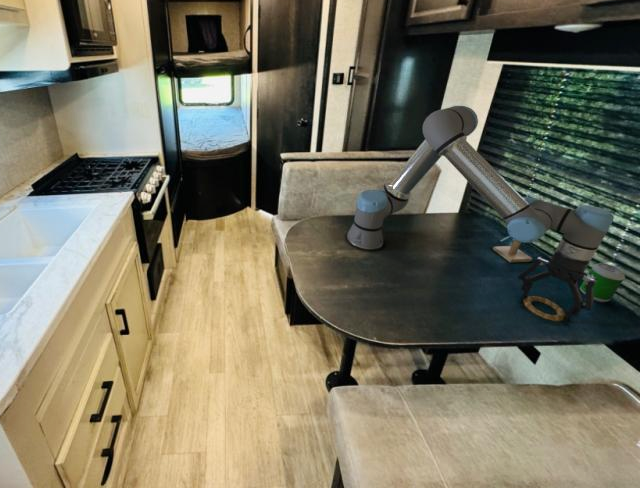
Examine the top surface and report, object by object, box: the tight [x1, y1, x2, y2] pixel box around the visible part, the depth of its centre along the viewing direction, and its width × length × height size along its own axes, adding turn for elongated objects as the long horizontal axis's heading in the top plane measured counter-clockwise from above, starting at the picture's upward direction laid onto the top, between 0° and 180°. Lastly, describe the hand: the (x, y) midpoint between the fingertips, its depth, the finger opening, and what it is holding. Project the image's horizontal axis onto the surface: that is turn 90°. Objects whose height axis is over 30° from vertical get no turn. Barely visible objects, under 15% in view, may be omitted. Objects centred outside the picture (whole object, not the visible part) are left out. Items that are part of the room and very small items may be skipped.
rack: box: [492, 239, 533, 263], centre depth 129 cm, size 9×9×14 cm
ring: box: [522, 295, 567, 322], centre depth 104 cm, size 10×10×2 cm
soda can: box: [579, 262, 626, 303], centre depth 108 cm, size 8×8×12 cm
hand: (543, 308), depth 104 cm, fingers closed on ring, 10 cm apart
